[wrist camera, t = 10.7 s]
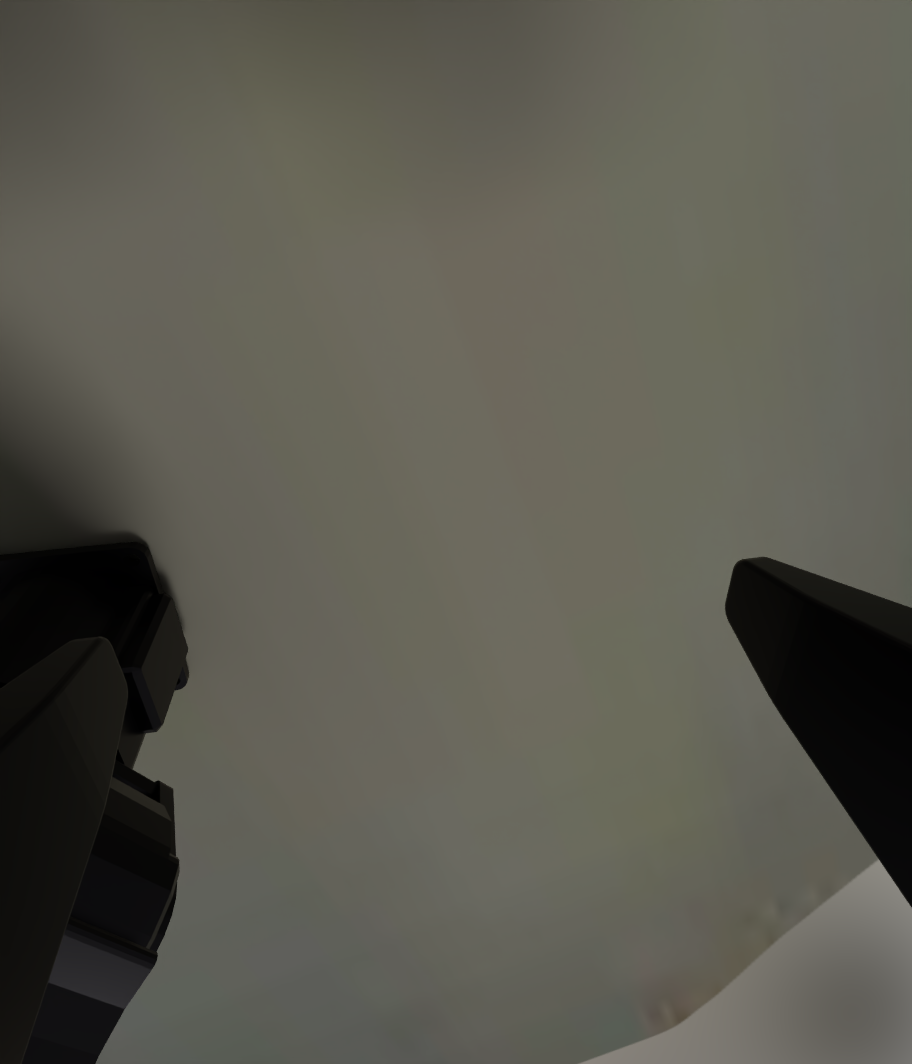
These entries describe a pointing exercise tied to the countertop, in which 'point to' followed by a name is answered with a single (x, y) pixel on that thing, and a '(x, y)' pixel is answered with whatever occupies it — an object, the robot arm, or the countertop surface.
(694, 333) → the countertop surface
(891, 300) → the countertop surface
